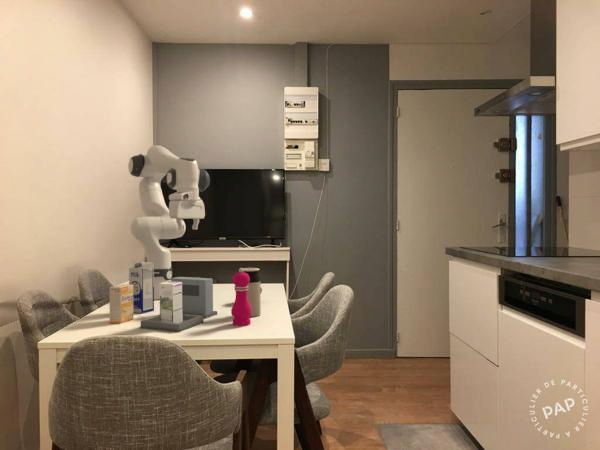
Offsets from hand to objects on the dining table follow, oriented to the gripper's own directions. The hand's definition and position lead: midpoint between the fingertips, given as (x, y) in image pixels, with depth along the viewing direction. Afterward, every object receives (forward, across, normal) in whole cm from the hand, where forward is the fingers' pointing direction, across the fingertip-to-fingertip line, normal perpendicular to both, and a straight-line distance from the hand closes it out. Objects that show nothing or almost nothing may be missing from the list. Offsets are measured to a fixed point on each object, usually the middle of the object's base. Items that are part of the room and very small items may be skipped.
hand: (188, 229), depth 182 cm
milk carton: (+33, +11, -15) cm, 38 cm away
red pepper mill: (+33, +16, +34) cm, 50 cm away
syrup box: (+33, +27, +12) cm, 44 cm away
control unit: (+33, +9, +8) cm, 35 cm away
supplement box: (+33, +27, -10) cm, 44 cm away
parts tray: (+33, +26, +12) cm, 44 cm away
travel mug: (+33, +2, +30) cm, 45 cm away
